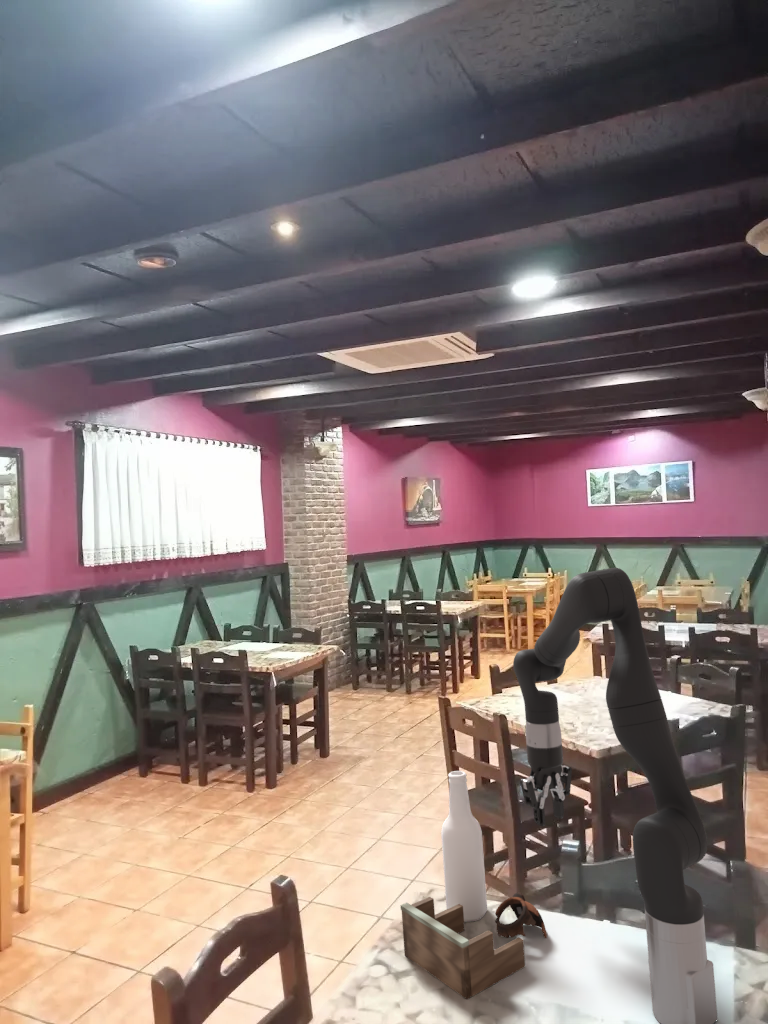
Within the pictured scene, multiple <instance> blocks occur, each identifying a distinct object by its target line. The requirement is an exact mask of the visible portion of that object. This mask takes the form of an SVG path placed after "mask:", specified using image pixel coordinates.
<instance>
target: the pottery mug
mask: <svg viewBox="0 0 768 1024" xmlns="http://www.w3.org/2000/svg"><path fill="white" fill-rule="evenodd" d="M509 907H510V908H511V911H512V912H513V913H514V914H515V918H517V919H516V920H514V921H512V922H510V923H506V924H505V923H502V922H501V921H500V919H501V916H502V914H503V913H504V911H505V910H506V909H507V908H509ZM494 914H495V916H496V918H495V920H494V923H495V925H496V928H495V929H496V933H497V935H498V936H499V937H502V938H506V939H509V938H514V937H516V936H522V937H526V933H525V929H524V925H525V926H527V927H528V926H532V927H539V928H540V929H541V933H542V934H543V938H544V939H547V937H548V933H547V930H546V926H545V922H544V919H543V917H542V915H541V914H540V912H539V910H538V909H537V908H536V907H535V906H534V905H533V904H532V903H530V902H529V901H526V899H525V896H524V894H523V893H522V892H519V891H518V892H516V893H513V895H512V897H509V898H507V899H505V900H503V901H502V902H501V903H500V904H499V905H498V907H497V908H496V910H495V913H494Z"/></svg>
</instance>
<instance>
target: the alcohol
mask: <svg viewBox="0 0 768 1024" xmlns="http://www.w3.org/2000/svg"><path fill="white" fill-rule="evenodd" d="M447 775H448V783H449V784H448V785H449V789H448V790H449V791H448V792H449V794H448V795H449V800H448V801H449V803H448V808H449V810H448V816H447V817H446V819H445V820H444V822H443V823H442V826H441V833H440V834H441V849H442V865H443V876H444V877H443V878H444V891H445V892H444V893H445V894H444V895H445V905H446V906H445V908H446V910H447V909H449V908H451V907H453V906H455V905H458V904H460V905H462V906H463V914H464V923H471V922H470V921H472V922H476V921H478V920H481V919H483V917H484V916H485V915H486V913H487V911H488V901H487V885H486V874H485V872H486V870H485V857H484V846H483V845H484V843H483V832H482V828H481V824H480V822H479V821H478V820H477V819H476V817H475V816H474V815H473V813H472V811H471V810H472V809H471V804H470V798H469V797H470V796H469V791H468V783H467V782H468V779H467V773H466V772H465V771H462V770H454V771H453V770H452V771H450V772H449V773H448V774H447ZM466 921H467V922H466Z"/></svg>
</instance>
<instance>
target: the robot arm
mask: <svg viewBox="0 0 768 1024" xmlns="http://www.w3.org/2000/svg"><path fill="white" fill-rule="evenodd" d="M606 621H610V622H611V626H612V629H613V634H614V641H615V642H614V643H615V645H614V646H615V647H614V648H615V649H614V657H613V662H612V666H611V669H610V671H609V672H610V673H609V677H608V679H607V680H608V681H607V684H606V689H605V702H606V707H607V709H608V714H609V717H610V722H611V724H612V728H613V732H614V734H615V736H616V739H617V740H618V742H619V744H620V745H621V747H622V748H623V749H624V750H625V752H626V753H627V754H628V755H629V757H630V758H632V760H633V761H634V762H635V764H636V765H638V767H639V769H640V770H641V771H642V772H643V774H644V776H645V778H646V779H647V782H648V784H649V787H650V789H651V791H652V792H651V793H652V795H653V800H654V802H655V806H656V812H655V813H652V814H649V815H647V816H645V817H643V818H640V819H639V820H638V821H637V822H636V824H635V825H634V828H633V831H632V850H633V859H634V865H635V873H636V880H637V881H636V882H637V885H638V889H639V892H640V895H641V897H642V900H643V903H644V917H645V930H646V944H647V954H648V955H647V956H648V957H647V958H648V969H649V982H650V993H651V1008H652V1014H653V1016H654V1018H655V1019H656V1021H658V1022H659V1023H660V1024H713V1023H714V1022H715V1021H716V1020H717V1019H719V1017H718V1007H717V997H716V996H717V995H716V982H715V981H716V980H715V971H714V963H713V961H711V960H709V959H708V954H707V941H706V940H707V938H706V928H705V927H706V926H705V915H704V902H703V898H702V896H701V894H700V892H699V891H698V890H696V889H695V888H693V887H692V886H689V885H688V884H686V883H685V880H684V879H685V878H684V877H685V875H684V870H685V869H688V868H689V867H690V868H691V867H692V866H694V865H695V864H697V863H699V862H701V861H702V859H704V857H705V856H706V854H707V851H708V836H707V831H706V829H705V825H704V822H703V820H702V817H701V814H700V812H699V810H698V807H697V805H696V802H695V800H694V797H693V794H692V792H691V790H690V787H689V784H688V782H687V780H686V777H685V773H684V772H683V771H684V770H683V768H682V765H681V762H680V761H681V760H680V758H679V756H678V752H677V748H676V746H675V742H674V740H673V736H672V733H671V729H670V725H669V721H668V716H667V713H666V709H665V705H664V702H663V699H662V696H661V693H660V690H659V687H658V684H657V680H656V677H655V675H654V671H653V666H652V664H651V661H650V656H649V652H648V649H647V644H646V640H645V635H644V631H643V630H644V629H643V625H642V624H643V623H642V620H641V614H640V609H639V604H638V599H637V595H636V592H635V587H634V585H633V582H632V581H631V579H630V577H629V575H628V574H627V573H626V572H625V571H624V570H623V569H621V568H620V567H619V568H618V567H609V568H603V569H599V570H593V571H592V570H591V571H586V572H582V573H579V574H577V575H575V576H573V577H572V578H571V579H570V580H569V582H568V583H567V585H566V586H565V589H564V591H563V594H562V595H561V598H560V601H559V603H558V605H557V608H556V610H555V612H554V614H553V617H552V619H551V621H550V623H549V624H548V626H546V628H545V629H544V630H543V631H542V633H541V634H540V635H539V637H538V638H537V640H536V641H535V643H534V647H533V648H532V649H531V648H530V649H529V648H527V649H522V650H519V651H518V652H517V653H516V654H515V655H514V657H513V663H512V665H513V667H512V668H513V671H514V674H515V678H516V679H517V682H518V685H519V688H520V691H521V694H522V698H523V703H524V713H525V742H526V743H525V744H526V756H527V763H528V765H529V767H530V772H529V773H530V774H529V776H528V777H527V778H521V779H520V780H519V782H520V783H519V784H520V786H521V787H520V788H521V790H522V791H521V792H522V795H523V799H524V804H525V805H526V806H528V807H530V808H532V809H533V820H534V823H535V824H536V825H538V826H541V827H544V826H546V816H545V815H546V813H545V808H544V806H545V801H546V798H548V794H549V791H550V792H551V796H552V798H553V799H552V809H553V816H554V817H555V818H556V819H559V820H561V819H563V818H564V814H565V808H564V807H565V806H564V800H565V799H566V796H570V795H571V788H572V786H571V785H572V773H573V771H572V770H573V769H572V766H568V765H565V764H564V753H563V752H564V751H563V743H562V742H563V741H562V740H563V739H562V738H563V737H562V729H561V724H560V717H559V715H560V713H559V703H558V697H557V695H556V694H555V693H554V692H551V691H547V690H541V689H540V690H539V689H538V688H537V686H536V683H538V682H539V683H541V682H547V681H548V682H549V681H553V680H556V679H558V678H561V676H562V675H563V673H564V670H565V667H566V663H567V660H568V658H569V657H570V656H572V655H573V653H574V652H575V651H576V649H577V648H578V646H579V644H580V641H581V634H580V633H581V632H580V628H583V627H584V626H585V625H587V624H598V623H602V622H606ZM563 764H564V765H563ZM564 785H565V786H564ZM716 1022H717V1021H716ZM716 1022H715V1023H716ZM715 1023H714V1024H715Z"/></svg>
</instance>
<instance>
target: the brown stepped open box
mask: <svg viewBox="0 0 768 1024" xmlns="http://www.w3.org/2000/svg"><path fill="white" fill-rule="evenodd" d="M399 907H400V911H401V919H402V921H401V922H402V923H401V924H402V934H403V935H402V936H403V950H404V952H403V953H404V956H405V957H406V958H407V959H409V960H410V961H412V962H413V963H414V964H416V965H418V966H419V967H420V968H422V969H423V970H425V971H426V972H427V973H429V974H430V975H432V976H433V977H434V978H436V979H438V980H439V982H442V983H443V984H445V985H446V986H447V987H449V988H450V989H451V990H453V991H454V992H456V993H457V994H459V995H460V996H462V998H464V999H466V1000H468V999H470V998H472V997H474V996H476V995H477V994H480V992H483V991H484V990H487V989H488V988H490V987H492V986H493V985H495V984H498V982H500V981H502V980H504V979H506V978H507V977H509V976H511V975H513V974H516V972H518V971H520V970H522V969H523V968H525V967H526V959H525V957H526V956H525V946H524V945H525V943H524V939H523V938H521V937H520V936H518V937H516V938H515V939H513V940H510V941H509V942H507V943H504V944H503V945H501V946H500V947H498V948H495V943H494V933H493V932H492V931H491V930H489V929H488V930H486V931H484V932H482V933H480V934H478V935H476V936H474V937H472V938H470V939H468V938H466V937H464V936H463V935H461V934H460V933H462V932H464V931H465V928H466V927H465V922H464V914H463V906H462V905H460V904H458V905H455V906H453V907H451V908H449V909H447V908H446V909H445V910H442V911H440V912H438V913H436V914H435V901H434V898H433V897H431V896H428V897H426V898H424V899H421V900H419V901H417V902H415V903H412V904H411V903H408V902H405V903H403V904H400V906H399Z"/></svg>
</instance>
